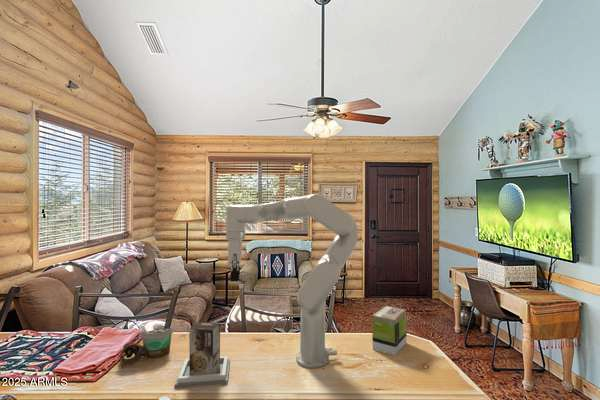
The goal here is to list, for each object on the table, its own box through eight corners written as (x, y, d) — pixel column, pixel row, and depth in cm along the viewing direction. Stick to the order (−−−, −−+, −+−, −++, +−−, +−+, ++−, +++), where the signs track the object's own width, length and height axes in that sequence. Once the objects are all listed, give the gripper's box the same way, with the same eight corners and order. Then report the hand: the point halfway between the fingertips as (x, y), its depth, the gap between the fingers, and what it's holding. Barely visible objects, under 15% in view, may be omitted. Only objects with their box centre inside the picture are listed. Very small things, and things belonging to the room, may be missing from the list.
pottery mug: (154, 361, 124) (149, 347, 120) (131, 381, 118) (124, 368, 113) (137, 345, 130) (131, 332, 126) (114, 364, 124) (107, 350, 119)
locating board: (229, 361, 123) (229, 354, 123) (227, 383, 108) (227, 376, 108) (183, 364, 121) (183, 358, 121) (174, 387, 106) (174, 380, 106)
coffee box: (220, 367, 117) (221, 323, 117) (213, 377, 110) (213, 330, 110) (197, 365, 118) (197, 321, 118) (188, 374, 112) (188, 328, 112)
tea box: (384, 337, 146) (385, 304, 146) (407, 343, 140) (407, 309, 140) (371, 349, 134) (371, 314, 134) (395, 356, 128) (395, 319, 128)
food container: (140, 362, 122) (140, 336, 122) (140, 355, 127) (140, 330, 127) (175, 356, 127) (175, 330, 127) (173, 349, 133) (173, 325, 133)
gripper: (227, 233, 138) (227, 273, 138) (224, 238, 121) (224, 283, 121) (245, 233, 139) (244, 273, 139) (244, 238, 122) (244, 283, 122)
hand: (235, 278), depth 130 cm, fingers open, 9 cm apart
